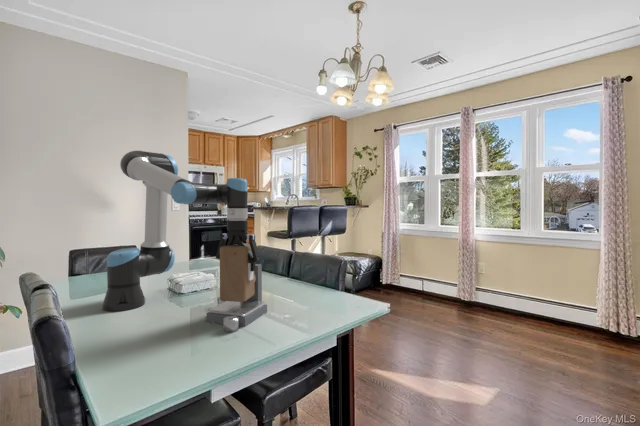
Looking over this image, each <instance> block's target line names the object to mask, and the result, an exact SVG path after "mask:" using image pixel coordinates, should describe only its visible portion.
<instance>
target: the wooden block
mask: <svg viewBox="0 0 640 426" xmlns="http://www.w3.org/2000/svg"><path fill="white" fill-rule="evenodd" d="M250 250H251V247H250V244H249V243H248V246H240V245H227V244H225V246H222V247H220V260H219V297H220V300H222V301H234V302H245V301H246V300H248V299H249V298H251V297H252V296H254V293H255V292H254V279H253V280H250V281H248V263H249V262H250V261H249V259H248V252H249V251H250ZM253 274H254V271H253Z"/></svg>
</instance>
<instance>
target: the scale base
mask: <svg viewBox="0 0 640 426" xmlns="http://www.w3.org/2000/svg"><path fill="white" fill-rule="evenodd" d="M262 269H263V267H262V264H258V263H255V271H254V292H255V293H254V296H252V297H251V298H249V299H248V300H254V301H262V300H263V290H262V289H263V286H262V285H263V279H262V275H263V273H262V272H263V271H262ZM266 312H267V313H268V304H266V303H265V305H263V306H262V307H260V308H258V309H257V310H255V311H254V312H252V313H250V314H249V315H247V316H245V317H242V316H237V317H239V327H244V328H245V327H247V326H248V325H250V324H252V323H253V322H255V321H256V320H257V319H259V318H261V317H262V316H263V314H264V315H266ZM227 316H234V315H226V314H218V313H211V312H209V311H208V312H206V322H209V323H215V324H216V323H217V324H223V318H225V317H227Z"/></svg>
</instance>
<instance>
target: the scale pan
mask: <svg viewBox="0 0 640 426" xmlns="http://www.w3.org/2000/svg"><path fill="white" fill-rule="evenodd" d="M265 304H266V301H264V300H263V301H254V300H246V301H245V302H234V301H225V302H223V303H221V304H219V305H215V306H213V307H211V308H209V309H208V312H211V313H218V314H226V315H234V316H242V317H245V316H247V315H249V314H250V313H252V312H254V311H255V310H257V309H258V308H260V307H262V306H263V305H265Z"/></svg>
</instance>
